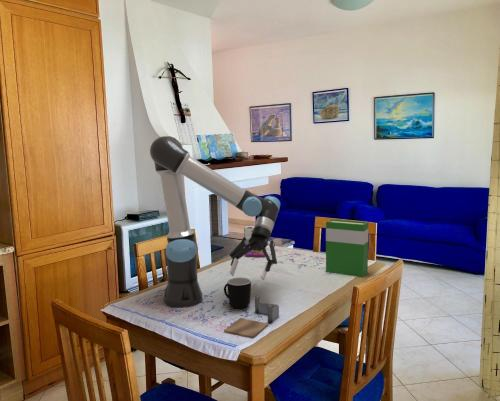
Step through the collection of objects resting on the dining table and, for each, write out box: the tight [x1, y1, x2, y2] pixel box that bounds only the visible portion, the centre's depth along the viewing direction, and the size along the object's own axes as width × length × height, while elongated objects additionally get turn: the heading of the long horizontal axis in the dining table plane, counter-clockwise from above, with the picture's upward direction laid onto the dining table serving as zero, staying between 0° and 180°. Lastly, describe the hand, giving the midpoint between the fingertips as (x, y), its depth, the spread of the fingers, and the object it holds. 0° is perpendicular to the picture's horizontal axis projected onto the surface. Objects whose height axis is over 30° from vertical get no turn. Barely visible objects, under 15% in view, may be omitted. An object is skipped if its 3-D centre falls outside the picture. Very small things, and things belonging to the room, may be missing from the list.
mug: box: [223, 277, 252, 311], centre depth 168 cm, size 12×9×10 cm
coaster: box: [223, 317, 269, 339], centre depth 149 cm, size 11×11×1 cm
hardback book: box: [325, 218, 369, 278], centre depth 206 cm, size 18×7×24 cm, turn 60°
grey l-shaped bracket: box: [254, 295, 280, 324], centre depth 158 cm, size 10×8×6 cm
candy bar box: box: [243, 225, 267, 258], centre depth 237 cm, size 11×5×16 cm, turn 80°
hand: (246, 276), depth 172 cm, fingers open, 13 cm apart
